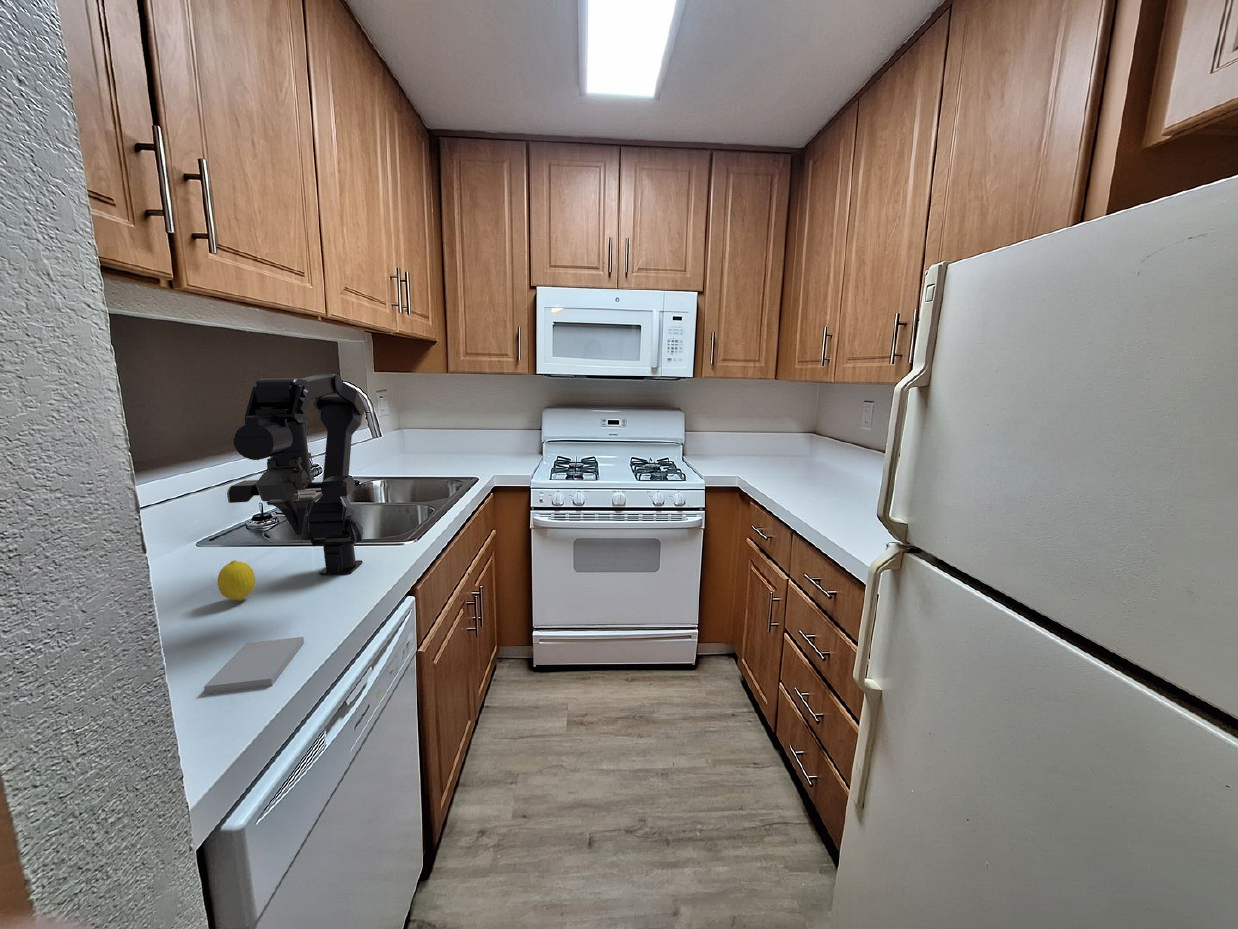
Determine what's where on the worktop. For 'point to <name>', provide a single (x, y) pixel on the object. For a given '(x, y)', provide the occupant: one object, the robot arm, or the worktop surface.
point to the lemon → (236, 580)
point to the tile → (255, 665)
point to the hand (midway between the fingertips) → (300, 534)
